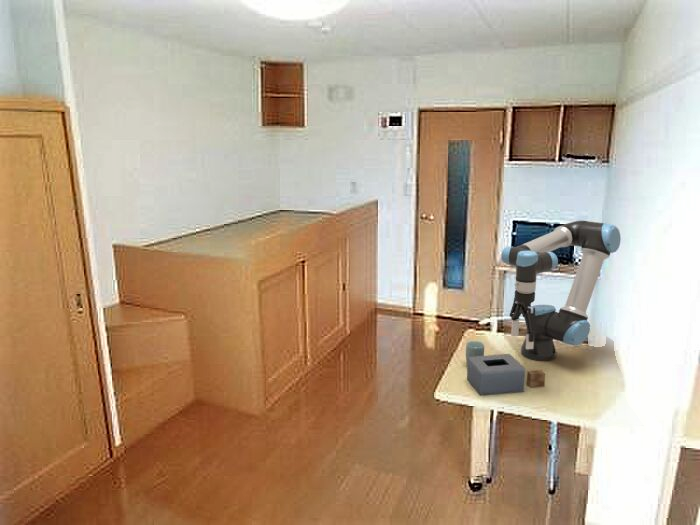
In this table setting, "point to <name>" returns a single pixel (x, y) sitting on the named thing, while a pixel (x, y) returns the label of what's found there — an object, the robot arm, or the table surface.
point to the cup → (474, 349)
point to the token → (535, 378)
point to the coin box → (495, 374)
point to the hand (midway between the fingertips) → (521, 341)
